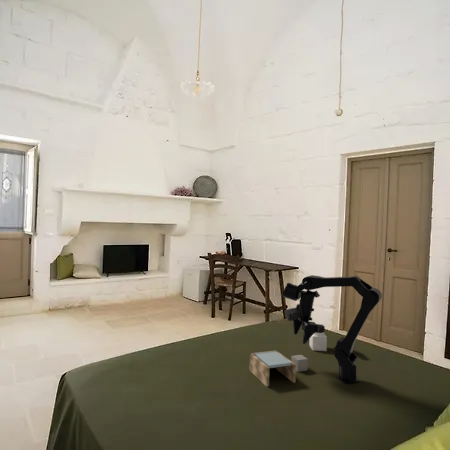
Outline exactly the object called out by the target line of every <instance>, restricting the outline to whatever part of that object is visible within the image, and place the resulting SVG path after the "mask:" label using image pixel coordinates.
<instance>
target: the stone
mask: <svg viewBox="0 0 450 450" xmlns="http://www.w3.org/2000/svg"><path fill="white" fill-rule="evenodd" d="M290 359H291V360H290V361H292V362H293V363H294V364H296V372H297V373H299V372H306V371H308V369H309V368H308V365H309V361H308V360H309V359H308V358H307V357H305V356H304V355H303V354H296V355H291V357H290Z"/></svg>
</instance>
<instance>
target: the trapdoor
mask: <svg viewBox="0 0 450 450" xmlns="http://www.w3.org/2000/svg"><path fill="white" fill-rule="evenodd" d="M276 351H277V350H276ZM276 351H275V350H269V351H268V352H266V351H258V352H259V353H257V352H253V353H254V355H255V356H256V357H257V358H258V359H259V360H261V361H262V362H263V363H264V364H265V365H267V366H268V367H269V369H275V368H274V367H282V366H289V365H292V363H291V362H290V361H291V360H290V359H289V360H290V361H289V360H287V359H288V358H287V357H286V356H285V357H286V358H287V359H286V358H285V357H283V356H284V355H283V354H282V355H283V356H282V355H280V354H281V353H280V352H279V351H278V352H279V353H280V354H279V353H278V352H276Z"/></svg>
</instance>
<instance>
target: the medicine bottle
mask: <svg viewBox="0 0 450 450" xmlns="http://www.w3.org/2000/svg"><path fill="white" fill-rule="evenodd" d="M316 324H317V325H318V326H319V331H318V332H316V333H314V334H313V335H312V336H311V337H310V339H309V348H310V349H311V350H312V351H314V352H315V351H317V352H327V351H328V336H327V335H326V334H325V333H326V332H325V328H326V327H325V325H323V324H322V323H321V324H320V323H316Z"/></svg>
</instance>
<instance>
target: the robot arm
mask: <svg viewBox="0 0 450 450" xmlns="http://www.w3.org/2000/svg"><path fill="white" fill-rule="evenodd" d="M335 287H336V288H341V287H342V288H344V287H345V288H346V287H352V288H353V289H354V290H355V291H356V292H357V293H358V295H360V296H361V297H362V298H361V303H360V309H358V312H357V314H356V316H355V318H354V320H353V322H352V323H351V324H350V325H351V326H350V327H349V329H348V331H347V333H346V335H345V336H346V337H345V336H340V338H339V339H338V341H336V345H335V346H334V347H333V350H334V351H333V355H334V358H335V360H337V362H338V366H339V367H338V375H336V376H335V377H336V379H338V380H339V381H341V382H343V383H345V384H354V383H359V382H360V380H359V379H358V378H357V365H356V363H357V362H358V360H359V359H358V357H359V356H357V355H356V354H355V353H354V350H353V348H354V347H355V345H356V340H357V338H358V336H359V334H360V333H361V331H362V329H363V328H364V325H365V323H366V321H367V319H368V317H369V316H370V314H371V313H372V311H373V310H374V309H375V307H376V306H377V305H378V303H380V301H382V299H383V293H382V292H381V291H380V289H378V288H376V287H373V286H372V285H370V284H369V283H367V282H366V281H364V280H363V279H362V278H360V277H359V276H358V275H354V276H335V277H332V276H331V277H325V276H324V277H323V276H319V275H313V274H311V275H306V276H305V277H304V278H302V281H301V283H300V284H298V285H296V284H294V283H292V282H287V283H286V286H285V287H284V290H283V291H282V297H283V298H285V299H288V300H291V301H294V302H298V300H299V303H297V304H296V307H292V308H288V309H285V310H284V315H285V318H286V319H287V321H289V322H292V327H293V335H298V333H299V331H300V329H301V331H302V344H306V343H307V342H309V341H310V337H311V336H312V335H313V334H314V333H316V332H318V331H319V326H318V325H317V324H318V323H316V322H315V321H313V317H312V312H315V309H314V308H313V306H314V301H315V298H319V297H320V296H321V295H320V294H319V292H318V290H317V289H321V288H335ZM312 290H315V291H312ZM343 337H344V338H343ZM354 349H355V348H354Z"/></svg>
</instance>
